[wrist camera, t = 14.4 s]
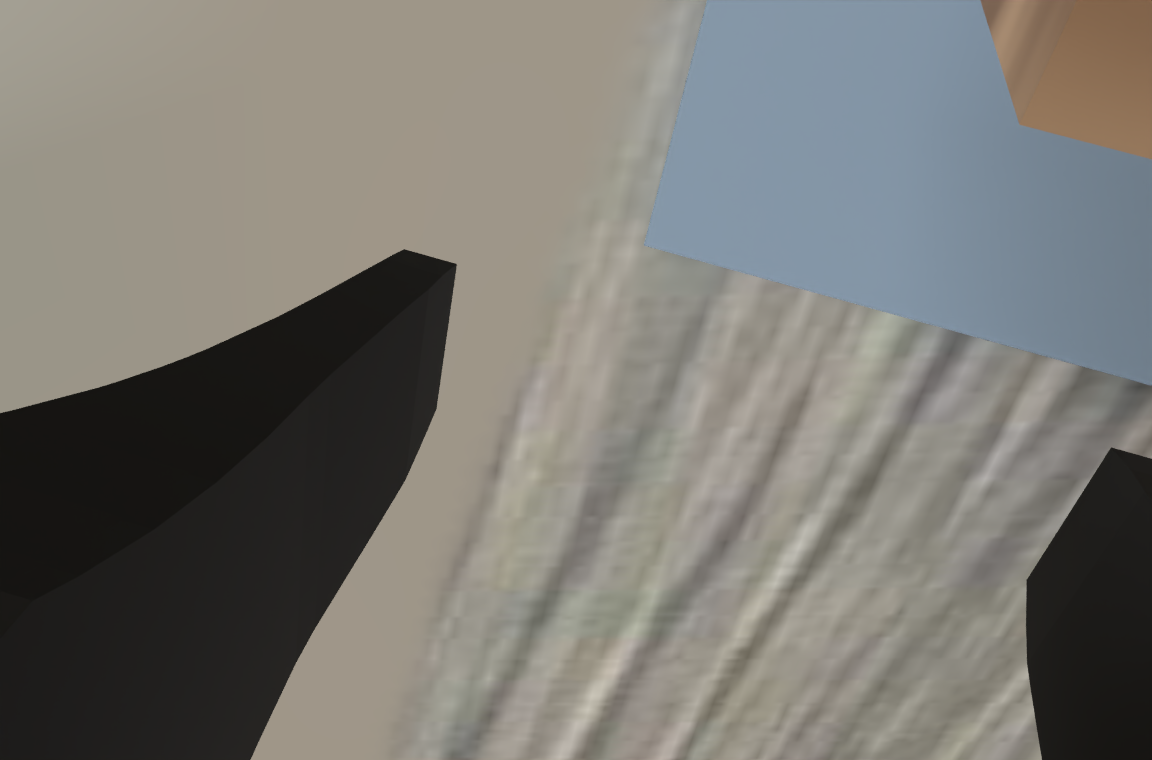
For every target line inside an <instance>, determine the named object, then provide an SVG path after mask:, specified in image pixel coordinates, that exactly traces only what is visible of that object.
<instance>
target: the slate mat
mask: <svg viewBox="0 0 1152 760" xmlns="http://www.w3.org/2000/svg"><path fill="white" fill-rule="evenodd" d="M644 246H648V247H651V248H655V249H659V250H662V251H666V252H670V253H673V254H677V255H680V256H684V257H688V258H691V259H695V260H699V261H702V262H706V263H709V264H713V265H717V266H720V267H724V268H728V269H731V270H735V271H738V272H742V273H746V274H749V275H753V276H757V277H760V278H764V279H767V280H771V281H775V282H778V283H782V284H785V285H789V286H793V287H796V288H800V289H804V290H807V291H811V292H814V293H818V294H822V295H825V296H829V297H833V298H836V299H840V300H843V301H847V302H851V303H854V304H858V305H862V306H865V307H869V308H872V309H876V310H880V311H883V312H887V313H891V314H894V315H898V316H901V317H905V318H909V319H912V320H916V321H919V322H923V323H927V324H930V325H934V326H938V327H941V328H945V329H948V330H952V331H956V332H959V333H963V334H967V335H970V336H974V337H977V338H981V339H985V340H988V341H992V342H996V343H999V344H1003V345H1006V346H1010V347H1014V348H1017V349H1021V350H1025V351H1028V352H1032V353H1035V354H1039V355H1043V356H1046V357H1050V358H1054V359H1057V360H1061V361H1064V362H1068V363H1072V364H1075V365H1079V366H1082V367H1086V368H1090V369H1093V370H1097V371H1101V372H1104V373H1108V374H1111V375H1115V376H1119V377H1122V378H1126V379H1130V380H1133V381H1137V382H1140V383H1144V384H1148V385H1151V386H1152V159H1149V158H1145V157H1141V156H1137V155H1133V154H1129V153H1126V152H1122V151H1118V150H1114V149H1110V148H1107V147H1103V146H1099V145H1095V144H1091V143H1087V142H1084V141H1080V140H1076V139H1072V138H1068V137H1064V136H1061V135H1057V134H1053V133H1049V132H1045V131H1042V130H1038V129H1034V128H1030V127H1026V126H1022V125H1019V122H1018V118H1017V115H1016V112H1015V109H1014V106H1013V102H1012V99H1011V96H1010V93H1009V90H1008V87H1007V83H1006V80H1005V77H1004V74H1003V71H1002V68H1001V64H1000V61H999V58H998V55H997V52H996V49H995V45H994V42H993V39H992V36H991V33H990V29H989V26H988V23H987V20H986V17H985V14H984V10H983V7H982V4H981V1H980V0H707V3H706V7H705V11H704V15H703V19H702V22H701V26H700V30H699V34H698V38H697V42H696V46H695V49H694V53H693V57H692V61H691V65H690V69H689V73H688V77H687V80H686V84H685V88H684V92H683V96H682V100H681V104H680V107H679V111H678V115H677V119H676V123H675V127H674V131H673V135H672V138H671V142H670V146H669V150H668V154H667V158H666V162H665V166H664V169H663V173H662V177H661V181H660V185H659V189H658V193H657V196H656V200H655V204H654V208H653V212H652V216H651V220H650V224H649V227H648V231H647V235H646V239H645V243H644Z"/></svg>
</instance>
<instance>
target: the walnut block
mask: <svg viewBox="0 0 1152 760" xmlns="http://www.w3.org/2000/svg"><path fill="white" fill-rule="evenodd" d="M980 1H981V4H982V7H983V10H984V14H985V17H986V20H987V23H988V26H989V29H990V33H991V36H992V39H993V42H994V45H995V49H996V52H997V55H998V58H999V61H1000V64H1001V68H1002V71H1003V74H1004V77H1005V80H1006V83H1007V87H1008V90H1009V93H1010V96H1011V99H1012V102H1013V106H1014V109H1015V112H1016V115H1017V118H1018V122H1019V125H1022V126H1026V127H1030V128H1034V129H1038V130H1042V131H1045V132H1049V133H1053V134H1057V135H1061V136H1064V137H1068V138H1072V139H1076V140H1080V141H1084V142H1087V143H1091V144H1095V145H1099V146H1103V147H1107V148H1110V149H1114V150H1118V151H1122V152H1126V153H1129V154H1133V155H1137V156H1141V157H1145V158H1149V159H1152V0H980Z"/></svg>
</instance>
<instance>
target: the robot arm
mask: <svg viewBox="0 0 1152 760" xmlns="http://www.w3.org/2000/svg"><path fill="white" fill-rule="evenodd" d="M456 266H457V265H456V264H455V263H451V262H448V261H444V260H440V259H436V258H433V257H429V256H426V255H422V254H419V253H415V252H412V251H408V250H405V249H404V250H402V251H400V252H398V253H396V254H394V255H392V256H390V257H388V258H387V259H385V260H383V261H381V262H379V263H377V264H376V265H374V266H372V267H370V268H368V269H366V270H364V271H363V272H361V273H359V274H357V275H355V276H354V277H352V278H350V279H348V280H346V281H344V282H343V283H341V284H339V285H337V286H335V287H334V288H332V289H330V290H328V291H326V292H324V293H323V294H321V295H319V296H317V297H315V298H313V299H311V300H309V301H307V302H305V303H304V304H302V305H300V306H298V307H296V308H294V309H292V310H290V311H288V312H286V313H284V314H282V315H280V316H279V317H276V318H274V319H272V320H270V321H268V322H265V323H263V324H261V325H259V326H257V327H255V328H252V329H250V330H248V331H246V332H244V333H241V334H239V335H237V336H235V337H232V338H230V339H228V340H226V341H224V342H222V343H219V344H217V345H215V346H213V347H210V348H209V349H206V350H204V351H201V352H199V353H196V354H194V355H191V356H189V357H187V358H184V359H181V360H178V361H176V362H174V363H170V364H168V365H165V366H163V367H160V368H157V369H154V370H151V371H148V372H145V373H142V374H139V375H136V376H133V377H130V378H128V379H124V380H122V381H118V382H116V383H112V384H109V385H106V386H102V387H99V388H95V389H92V390H88V391H84V392H80V393H77V394H73V395H69V396H65V397H61V398H58V399H54V400H50V401H46V402H42V403H39V404H35V405H31V406H28V407H23V408H20V409H16V410H12V411H8V412H3V413H0V760H250V759H251V757H252V755H253V753H254V750H255V748H256V746H257V744H258V742H259V740H260V737H261V735H262V733H263V731H264V729H265V727H266V725H267V723H268V721H269V718H270V716H271V714H272V712H273V710H274V708H275V706H276V704H277V702H278V699H279V697H280V695H281V693H282V691H283V689H284V687H285V685H286V683H287V680H288V678H289V676H290V674H291V672H292V670H293V668H294V666H295V664H296V662H297V660H298V658H299V656H300V654H301V653H302V651H303V649H304V647H305V645H306V644H307V642H308V640H309V638H310V636H311V634H312V633H313V631H314V629H315V627H316V626H317V624H318V623H319V621H320V619H321V618H322V616H323V614H324V613H325V611H326V609H327V608H328V606H329V605H330V603H331V601H332V600H333V598H334V597H335V595H336V593H337V591H338V590H339V588H340V587H341V585H342V583H343V582H344V580H345V579H346V577H347V575H348V574H349V572H350V570H351V569H352V567H353V566H354V564H355V562H356V560H357V559H358V557H359V556H360V554H361V552H362V551H363V549H364V548H365V546H366V544H367V543H368V541H369V539H370V538H371V536H372V534H373V533H374V531H375V530H376V528H377V526H378V525H379V523H380V521H381V520H382V518H383V516H384V515H385V513H386V511H387V510H388V508H389V506H390V505H391V503H392V501H393V500H394V498H395V496H396V495H397V493H398V491H399V490H400V488H401V486H402V485H403V483H404V481H405V479H406V477H407V475H408V473H409V471H410V468H411V466H412V464H413V462H414V459H415V457H416V455H417V453H418V450H419V448H420V446H421V444H422V441H423V439H424V437H425V434H426V432H427V430H428V427H429V425H430V422H431V420H432V418H433V416H434V413H435V411H436V408H437V401H438V394H439V387H440V379H441V372H442V365H443V358H444V351H445V344H446V337H447V330H448V323H449V316H450V309H451V302H452V295H453V287H454V280H455V273H456ZM1026 636H1027V665H1028V673H1029V680H1030V687H1031V693H1032V700H1033V706H1034V712H1035V719H1036V725H1037V732H1038V738H1039V744H1040V749H1041V755H1042V760H1152V459H1150V458H1147V457H1143V456H1139V455H1136V454H1132V453H1129V452H1125V451H1122V450H1118V449H1115V448H1111V449H1110V450H1109V452H1108V453H1107V455H1106V457H1105V458H1104V460H1103V461H1102V463H1101V464H1100V466H1099V468H1098V469H1097V471H1096V472H1095V474H1094V475H1093V477H1092V479H1091V480H1090V482H1089V483H1088V485H1087V486H1086V488H1085V489H1084V491H1083V493H1082V494H1081V496H1080V497H1079V499H1078V500H1077V502H1076V504H1075V505H1074V507H1073V508H1072V510H1071V511H1070V513H1069V515H1068V516H1067V518H1066V519H1065V521H1064V522H1063V524H1062V526H1061V527H1060V529H1059V530H1058V532H1057V533H1056V535H1055V537H1054V538H1053V540H1052V541H1051V543H1050V544H1049V546H1048V548H1047V549H1046V551H1045V552H1044V554H1043V555H1042V557H1041V559H1040V560H1039V562H1038V563H1037V565H1036V566H1035V568H1034V570H1033V571H1032V573H1031V574H1030V576H1029V577H1028V579H1027V602H1026Z"/></svg>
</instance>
